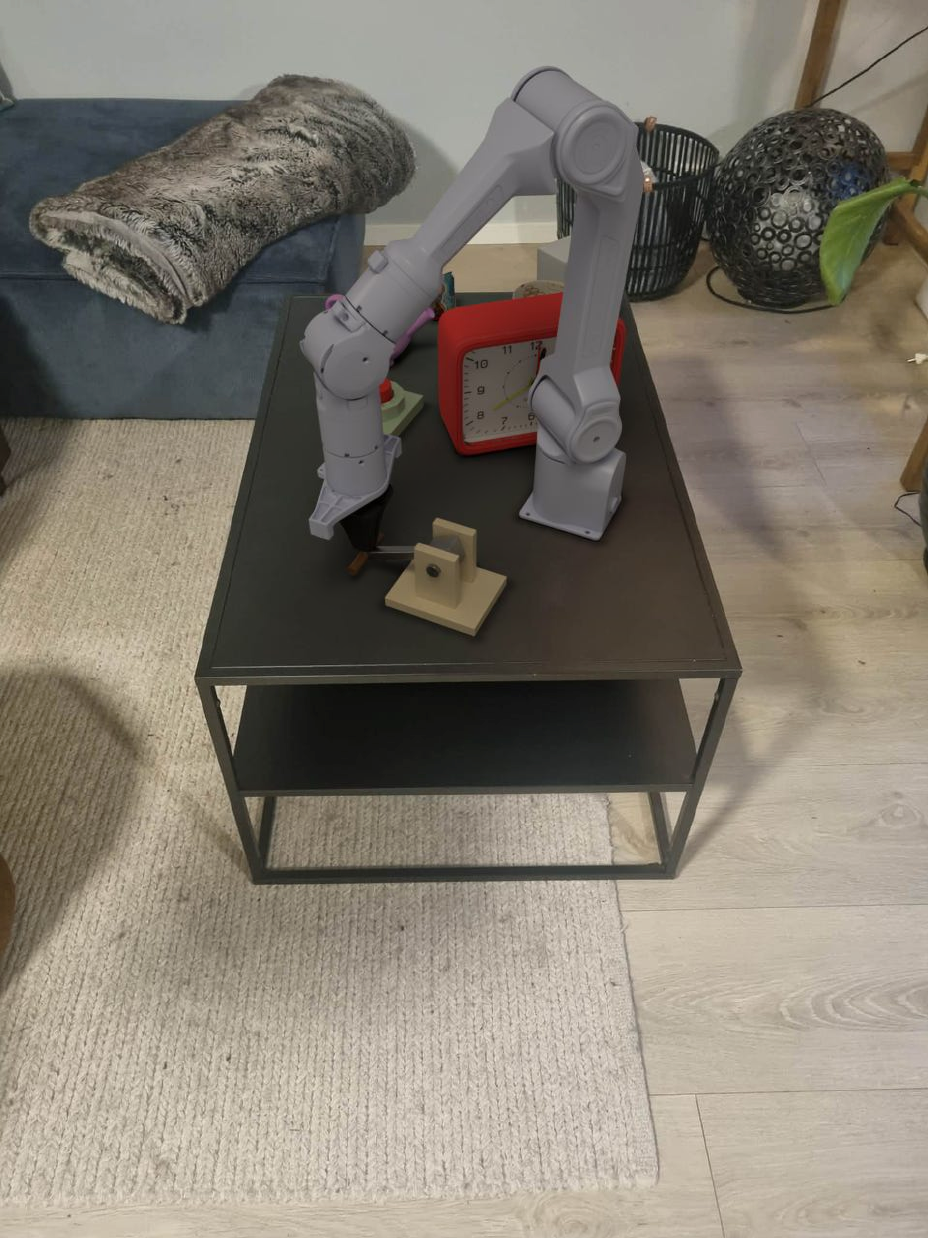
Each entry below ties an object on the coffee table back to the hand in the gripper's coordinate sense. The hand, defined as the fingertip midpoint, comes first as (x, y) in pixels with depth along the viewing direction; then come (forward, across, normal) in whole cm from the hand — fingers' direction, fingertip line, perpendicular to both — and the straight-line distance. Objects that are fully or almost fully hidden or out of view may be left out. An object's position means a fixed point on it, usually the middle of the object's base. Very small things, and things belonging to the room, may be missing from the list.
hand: (364, 546), depth 96 cm
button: (0, -24, -12) cm, 27 cm away
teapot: (+3, -37, -18) cm, 42 cm away
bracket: (+3, 0, +9) cm, 10 cm away
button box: (+3, -24, -12) cm, 27 cm away
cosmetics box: (+3, -58, +2) cm, 58 cm away
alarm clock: (+3, -30, +5) cm, 31 cm away
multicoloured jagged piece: (0, -50, -20) cm, 54 cm away
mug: (+3, -42, +4) cm, 42 cm away
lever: (0, 0, +6) cm, 6 cm away
